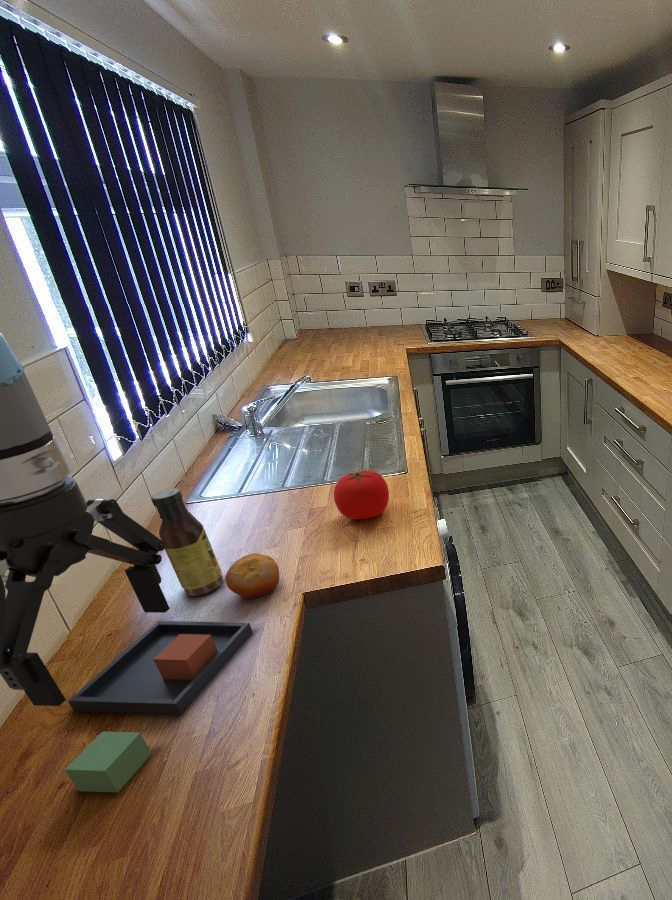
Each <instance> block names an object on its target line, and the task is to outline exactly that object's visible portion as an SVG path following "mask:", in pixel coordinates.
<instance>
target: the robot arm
mask: <svg viewBox="0 0 672 900" xmlns="http://www.w3.org/2000/svg"><path fill="white" fill-rule="evenodd" d="M70 473H71V468H70V466H69V464H68V462H67V460H66V458H65V456H64V454H63V452H62V449H61V448H60V446H59V444H58V442H57V439H56V438H55V436H54V434H53V432H52V430H51V426H50V425H49V423H48V421H47V418H46V416H45V414H44V412H43V410H42V407H41V405H40V403H39V401H38V399H37V397H36V395H35V393H34V390H33V388H32V386H31V384H30V382H29V380H28V377H27V375H26V373H25V368H24V365H23V364H22V362H21V361H20V359H18V358H17V357H16V356H15V354H14V353H13V350H12V349H11V347H10V345H9V343H8V341H7V340H6V338H5V336H4V334H3V333H2V332H0V676H1V677H2V679H3V680H4V682H5V683H6V684H7V686H8V688H10V689H11V690H14V691H23V692H24V693H25V694H26V696H27V698H28V699H29V701H30V702H31V704H32V705H33V706H35V707H36V706H42V707H60V706H61V705H62V704H63V703H65V702H66V701H67V699H66V697H65V695H64V693H62V690H61V689H60V688H59V686H58V684H57V683H56V681H55V679H54V677H53V676H52V675H51V673H50V671H49V670H48V668H47V666H46V664H45V663H44V661H43V659H42V658H41V656H40V655H39V653H38V652H28V650H29V647H30V643H31V640H32V636H33V632H34V629H35V626H36V622H37V619H38V616H39V612H40V609H41V606H42V602H43V598H44V595H45V592H46V591H48V590H49V589H50V588H51V587H52V585H53V580H54V578H55V577H59V576H61V575H62V574H64V573H65V572H66V571H67V570H68V569H69V568H70V567H71V566H73V565H76V564H78V563H81V562H82V561H83V560H85V559H87V556H86V555H88V554H91V555H96V556H99V557H103V558H106V559H110V560H114V561H118V562H122V563H126V564H128V565H133V566H128V567H126V568H125V569H124V570H123V571H124V573H125V575H126V577H127V579H128V581H129V583H130V586H131V587H132V589H133V591H134V594H135V596H136V598H137V600H138V602H139V604H140V606H141V609H142V610H143V612H144V613H152V614H153V613H157V614H159V613H160V614H165V613H167V612H168V611H169V610H170V608H171V607H170V606H169V603H168V601H167V599H166V597H165V593H164V592H163V590H162V587H161V585H160V584H161V583H162V577H161V575H160V573H159V570H158V568H157V565H159V564H161V562H162V561H163V558H162V555H161V554H158V553H159V552H163V551H165V543H164V542H163V541H162V540H161V538H160V537H158V536H156V535H155V534H154V533H152V532H150V531H149V530H148V529H146V528H145V527H144V526H142V525H141V524H140V523H138V522H137V521H136V520H134V519H133V518H131V517H130V516H128V515H127V514H125V512H124V511H123V509H122V507H121V506H120V505H119V503H118V501H117V500H116V499H114V498H89V499H88V500H87V501H86V498H85V497H84V495H83V492H82V490H81V488H80V486H79V484H78V482H77V480H76V479H75V478H74V477H71V476H69V475H70ZM95 522H97V523H99V524H100V526H103V527H104V528H106V529H107V530H108V531H110V532H111V533H113V534H115V535H116V536H118V537H119V538H120V539H122V540H123V541H125V542H126V543H128V544H129V545H131V546H132V547H129V546H127V545H123V544H121V543H117V542H114V541H111V540H110V539H109V538H105V537H101V536H98V535H95V534H93V531H94V526H95ZM133 547H134V548H133ZM7 571H8V574H7V575H6V572H7ZM27 576H29V577H32V578H35V579H34V580H33V581H27V580H26V578H27ZM6 590H7V593H6Z"/></svg>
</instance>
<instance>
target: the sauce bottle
mask: <svg viewBox="0 0 672 900" xmlns="http://www.w3.org/2000/svg"><path fill="white" fill-rule="evenodd" d="M150 500H151V502H152V505H153V506H154V507H155V508H156V510H157V513H158V515H159V519H161V523H160V526H159V528H158V535H159V539H160V540H162V541H163V542H164V543H165V549H164V551H165V553H166V556H167V559H168V560H169V562H170V564H171V566H172V569H173V571H174V573H175V576H176V578H177V580H178V582H179V584H180V587H181V588H182V589H183V590H184V593H185V594H186V595H187V596H191V597H197V596H202V595H206V594H208V593H211V592H212V591H214V590H217V589H219V587H221V585H222V583H223V581H224V577H223V575H222V572H223V571H222V569H221V566H220V565H219V562H218V559H217V556H216V553H215V552H214V550H213V546H212V543H211V542H210V540H209V537H208V535H207V531H206V530H205V528H204V525H203V524H202V523H201V521H199V520H198V519H197V517H195V516H194V515H193V514H192V513H191V512H190V511H189V510H188V508H187V507H186V505H185V502H184V500H183V494H182V492H181V490H180V489H179V488H176V487H175V488H173V487H172V488H168V489H167V488H166V489H161V490H159V491H157V492H155V493H153V494H152V495H151V497H150Z"/></svg>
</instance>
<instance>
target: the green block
mask: <svg viewBox="0 0 672 900" xmlns="http://www.w3.org/2000/svg"><path fill="white" fill-rule="evenodd" d="M152 754H153V753H152V752H151V750H150V747H149V746H148V744H147V742H146V740H145V738H144V737H143V735H142V733H141V732H133V731H132V732H129V731H101V732H100V734H98V735H97V737H95V738H94V740H92V741H91V742H90V743H89V745H87V746H86V747H85V748H84V749H83V750H82V751H81V752H80V753H79V754H78V755H77V756H76V757H75V759H73V761H71V762H70V763H69V764H68V766H66V768H65V769H64V771H65V773H66V775H67V776H68V777H69V779H70V780H71V782H72V783H73V785H74V787H75V788H76V789H77V792H89V793H115V794H116V793H117V794H118V793H119V792H120V791H122V789H123V788H124V787H125V785H126V784H127V783H129V781H130V780H131V779H132V778H133V776H134V775H135V774H136V773H137V772H138V771H139V769H141V767H142V766H143V765H144V764H145V762H146V761H148V759H149V758H150V757H151V756H152Z"/></svg>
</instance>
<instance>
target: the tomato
mask: <svg viewBox="0 0 672 900" xmlns="http://www.w3.org/2000/svg"><path fill="white" fill-rule="evenodd" d="M389 498H390V491H389V486H388V483H387V481H386V480H385V479H384V477H383V476H382V475H381V474H380V473H378V472H377V471H374V470H368V468H366V469H364V470H361V471H354V472H351V473H350V472H346V474H345V475H344V476H342V477H340V478H339V479H338V481H337V482H336V484H335V486H334V490H333V499H334V500H333V501H334V504H335V505H336V508H337V510H338V511H339V513H340V514H341V515H343V517H345V518H347V519H349V520H367V519H371V518H374V517H377V516H378V515H380V514H381V513H382V512H384V511H385V510H386V508H387V506H388V504H389Z"/></svg>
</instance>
